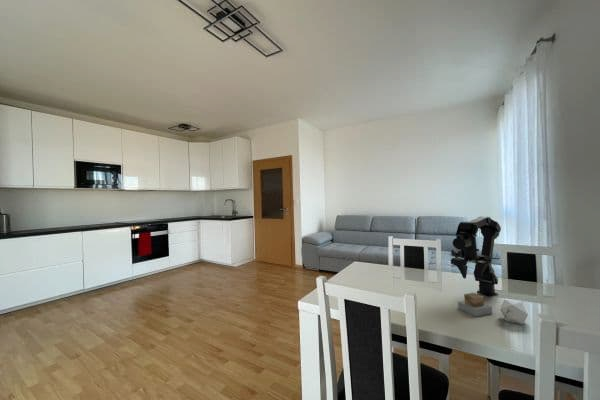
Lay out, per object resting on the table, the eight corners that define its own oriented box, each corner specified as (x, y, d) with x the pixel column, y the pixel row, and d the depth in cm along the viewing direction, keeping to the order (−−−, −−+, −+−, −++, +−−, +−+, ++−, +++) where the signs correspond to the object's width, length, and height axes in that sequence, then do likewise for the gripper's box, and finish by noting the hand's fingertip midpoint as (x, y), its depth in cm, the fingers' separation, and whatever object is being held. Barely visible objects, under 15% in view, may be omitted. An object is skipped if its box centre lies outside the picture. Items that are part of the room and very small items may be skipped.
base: (473, 305, 112) (473, 298, 112) (492, 313, 103) (491, 306, 103) (458, 307, 110) (457, 301, 110) (475, 316, 101) (475, 309, 102)
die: (495, 316, 102) (493, 303, 97) (510, 304, 102) (509, 291, 98) (517, 332, 94) (516, 319, 90) (534, 319, 95) (533, 306, 90)
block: (483, 305, 105) (483, 296, 105) (474, 307, 104) (473, 298, 104) (473, 301, 110) (473, 292, 110) (464, 302, 109) (464, 294, 109)
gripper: (470, 242, 126) (473, 270, 126) (441, 245, 123) (443, 274, 123) (490, 245, 115) (493, 276, 115) (459, 249, 112) (461, 281, 112)
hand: (472, 277), depth 116 cm, fingers open, 9 cm apart
